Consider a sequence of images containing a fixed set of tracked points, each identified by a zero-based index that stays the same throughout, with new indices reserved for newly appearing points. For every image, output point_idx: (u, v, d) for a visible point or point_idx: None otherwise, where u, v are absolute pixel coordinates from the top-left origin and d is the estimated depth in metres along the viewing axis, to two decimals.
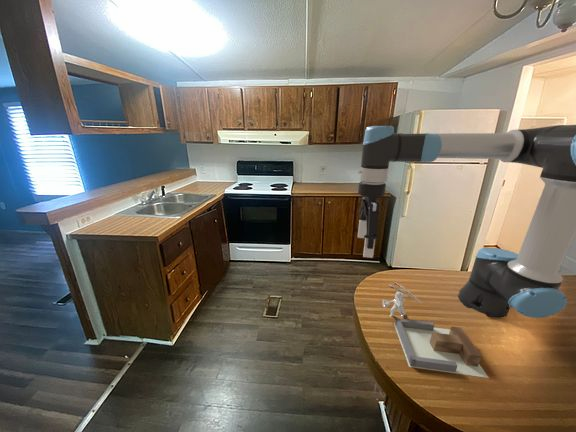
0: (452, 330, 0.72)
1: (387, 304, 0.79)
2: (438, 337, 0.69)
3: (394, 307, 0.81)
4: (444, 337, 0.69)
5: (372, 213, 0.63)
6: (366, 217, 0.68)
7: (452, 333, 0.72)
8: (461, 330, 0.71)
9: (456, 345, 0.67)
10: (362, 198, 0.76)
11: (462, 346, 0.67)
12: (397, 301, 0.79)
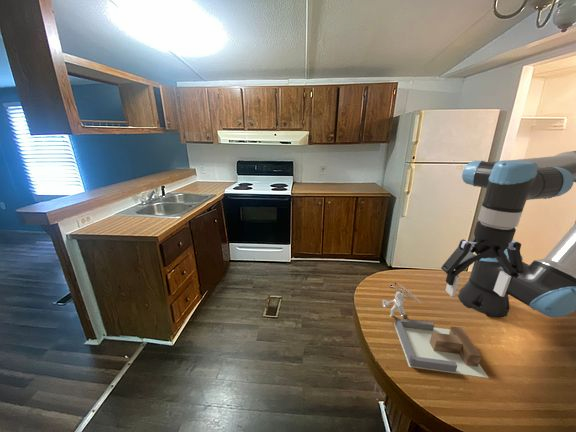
0: (452, 330, 0.72)
1: (387, 304, 0.79)
2: (438, 337, 0.69)
3: (394, 307, 0.81)
4: (444, 337, 0.69)
5: (459, 249, 0.61)
6: None
7: (452, 333, 0.72)
8: (461, 330, 0.71)
9: (456, 345, 0.67)
10: None
11: (462, 346, 0.67)
12: (397, 301, 0.79)
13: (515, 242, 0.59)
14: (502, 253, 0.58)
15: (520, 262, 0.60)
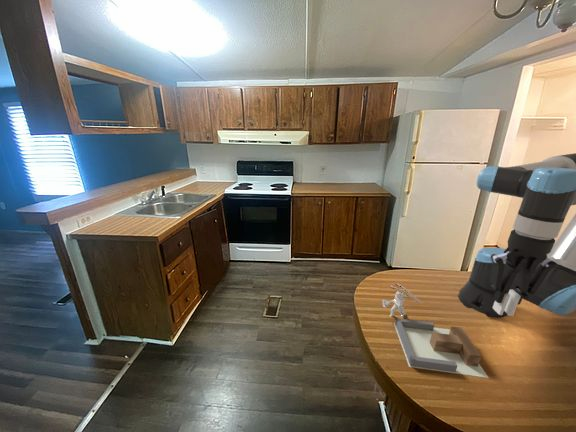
0: (452, 330, 0.72)
1: (387, 304, 0.79)
2: (438, 337, 0.69)
3: (394, 307, 0.81)
4: (444, 337, 0.69)
5: (494, 265, 0.59)
6: None
7: (452, 333, 0.72)
8: (461, 330, 0.71)
9: (456, 345, 0.67)
10: None
11: (462, 346, 0.67)
12: (397, 301, 0.79)
13: (552, 261, 0.56)
14: (534, 266, 0.56)
15: (540, 282, 0.57)
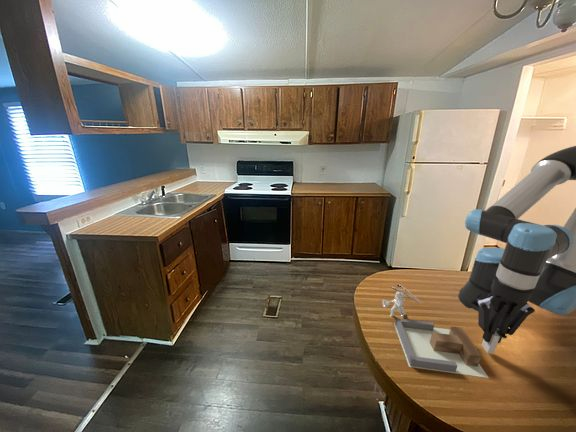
0: (452, 330, 0.72)
1: (387, 304, 0.79)
2: (438, 337, 0.69)
3: (394, 307, 0.81)
4: (444, 337, 0.69)
5: (480, 308, 0.64)
6: None
7: (452, 333, 0.72)
8: (461, 330, 0.71)
9: (456, 345, 0.67)
10: (520, 308, 0.63)
11: (462, 346, 0.67)
12: (397, 301, 0.79)
13: (531, 307, 0.61)
14: (514, 311, 0.60)
15: (518, 325, 0.62)
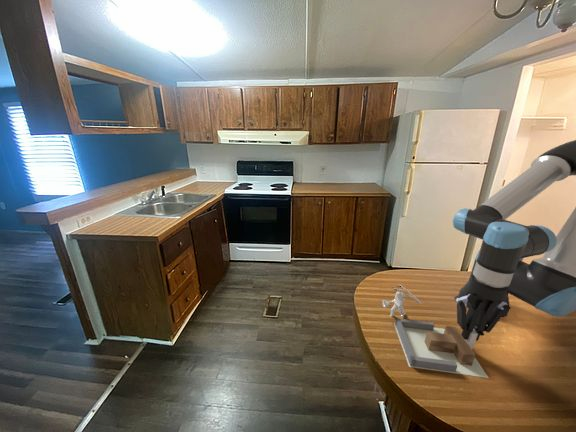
0: (447, 329, 0.72)
1: (387, 304, 0.79)
2: (433, 336, 0.69)
3: (394, 307, 0.81)
4: (439, 336, 0.69)
5: (458, 306, 0.65)
6: None
7: (447, 332, 0.72)
8: (456, 329, 0.71)
9: (450, 344, 0.67)
10: None
11: (456, 345, 0.67)
12: (397, 301, 0.79)
13: (507, 304, 0.61)
14: (491, 308, 0.61)
15: (495, 322, 0.63)
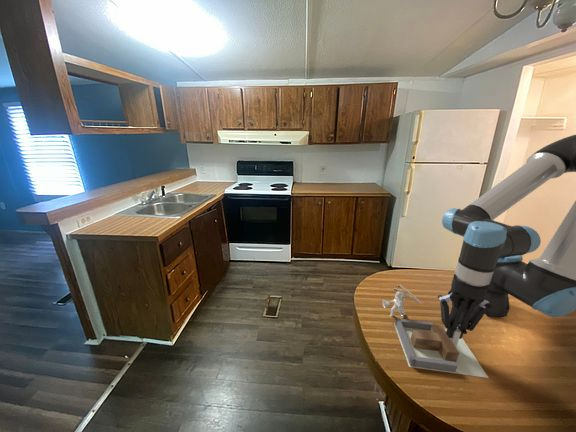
0: (433, 328, 0.73)
1: (387, 304, 0.79)
2: (418, 334, 0.69)
3: (394, 307, 0.81)
4: (424, 334, 0.70)
5: (441, 305, 0.65)
6: None
7: (433, 331, 0.73)
8: (441, 328, 0.72)
9: (435, 342, 0.68)
10: None
11: (441, 343, 0.68)
12: (397, 301, 0.79)
13: (488, 303, 0.62)
14: (473, 307, 0.62)
15: (477, 321, 0.64)
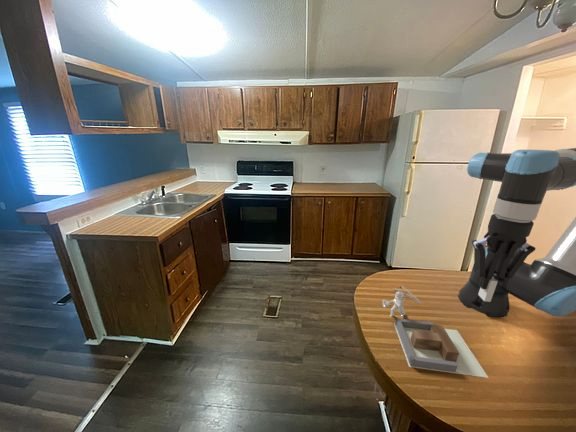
0: (433, 328, 0.73)
1: (387, 304, 0.79)
2: (418, 334, 0.69)
3: (394, 307, 0.81)
4: (424, 334, 0.70)
5: (476, 250, 0.59)
6: None
7: (433, 331, 0.73)
8: (441, 328, 0.72)
9: (435, 342, 0.68)
10: None
11: (441, 343, 0.68)
12: (397, 301, 0.79)
13: None
14: (513, 250, 0.55)
15: (517, 267, 0.57)
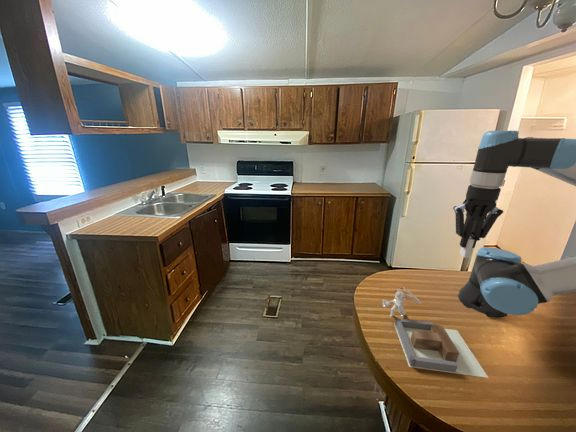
0: (433, 328, 0.73)
1: (387, 304, 0.79)
2: (418, 334, 0.69)
3: (394, 307, 0.81)
4: (424, 334, 0.70)
5: (456, 215, 0.72)
6: None
7: (433, 331, 0.73)
8: (441, 328, 0.72)
9: (435, 342, 0.68)
10: None
11: (441, 343, 0.68)
12: (397, 301, 0.79)
13: (500, 209, 0.69)
14: (485, 213, 0.69)
15: (489, 227, 0.71)
